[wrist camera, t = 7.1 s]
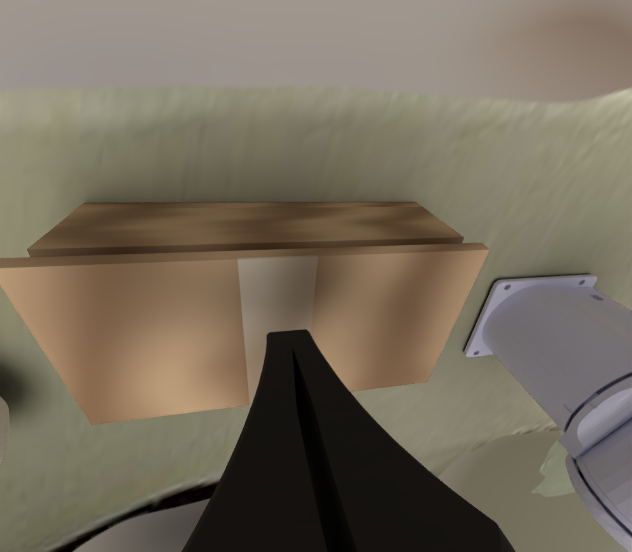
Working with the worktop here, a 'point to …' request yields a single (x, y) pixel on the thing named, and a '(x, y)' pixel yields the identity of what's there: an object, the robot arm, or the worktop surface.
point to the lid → (235, 319)
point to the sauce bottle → (3, 427)
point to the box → (239, 227)
